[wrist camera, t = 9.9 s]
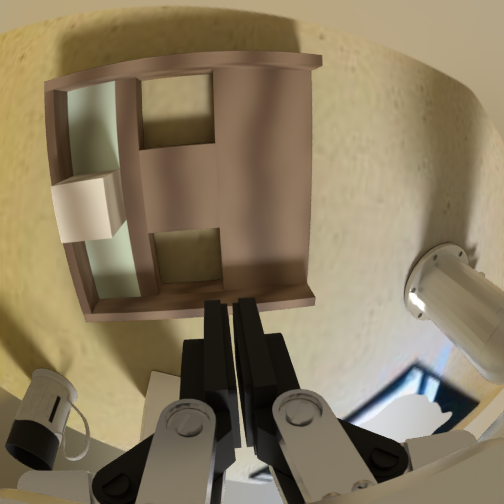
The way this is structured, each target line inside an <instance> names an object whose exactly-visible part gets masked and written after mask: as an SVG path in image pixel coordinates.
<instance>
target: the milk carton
mask: <svg viewBox="0 0 504 504" xmlns="http://www.w3.org/2000/svg"><path fill="white" fill-rule="evenodd" d="M180 378H181V377H178V376H173V375H169V374H165V373H161V372H156V371H152V372H151V376H150V380H149V384H148V389H147V393H146V398H145V403H144V410H143V418H142V426H141V434H140V442H142V441H143V440H145V439H146V438H147V437H149V436H150V435H152V434H153V433H154V432H155V430H156V426H157V423H158V419H159V416H160V414H161V412H162V410H163V409H164V408H165V407H166V406H167V405H169V404H171V403H173V402H174V401H178V400H179V394H180Z"/></svg>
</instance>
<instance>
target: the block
mask: <svg viewBox="0 0 504 504" xmlns="http://www.w3.org/2000/svg"><path fill="white" fill-rule="evenodd" d="M51 192H52V199H53V204H54V210H55V215H56V220H57V225H58V230H59V234H60V239H61V243H69V242H79V241H88V240H99V239H109V238H113V236H114V235H115V234H116V233H117V231H118V230H119V229H120V227H121V226H122V225H123V224H124V222H125V221H126V213H125V206H124V198H123V191H122V182H121V173H120V169H114V170H107V171H100V172H94V173H87V174H81V175H76V176H72V177H70V178H68V179H66V180H63V181H61V182H59V183H57V184H55V185H53V186H51Z"/></svg>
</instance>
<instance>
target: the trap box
mask: <svg viewBox="0 0 504 504" xmlns="http://www.w3.org/2000/svg"><path fill="white" fill-rule="evenodd" d="M321 66H322V55H316V54H306V53H294V52H277V51H213V52H196V53H184V54H174V55H165V56H157V57H150V58H143V59H136V60H131V61H125V62H120V63H114V64H110V65H105V66H100V67H96V68H92V69H88V70H84V71H80V72H76V73H72V74H69V75H65V76H62V77H58V78H55V79H52V80H49V81H45V82H44V95H45V124H46V138H47V150H48V159H49V168H50V176H51V183H52V186H53V185H55V184H57V183H59V182H61V181H63V180H66V179H68V178H70V177H72V176H76V175H81V174H87V173H94V172H100V171H107V170H114V169H120V173H121V182H122V191H123V198H124V206H125V213H126V221H125V222H124V224H123V225H122V226H121V227H120V229H119V230H118V231H117V233H116V234H115V235H114V236H113V238H109V239H99V240H88V241H79V242H69V243H63V245H64V249H65V254H66V257H67V261H68V265H69V269H70V272H71V276H72V280H73V283H74V286H75V290H76V293H77V296H78V299H79V302H80V306H81V309H82V312H83V314H84V317H85V320H86V322H110V321H139V320H160V319H178V318H193V317H204V300H218V299H220V301H221V304H223V303H227V307H228V315H231V314H233V310H232V303H237V302H238V298H247V297H255V301H256V304H257V308H258V312H263V311H272V310H282V309H290V308H299V307H307V306H315V296H314V294H313V292H312V291H311V289H310V287H309V286H308V284H307V276H308V259H309V241H310V218H311V188H312V80H311V71H312V70H314V69H316V68H319V67H321ZM201 74H213V107H214V135H215V142H211V143H197V144H185V145H174V146H164V147H155V148H146V149H144V136H143V118H142V92H141V81H144V80H152V79H159V78H168V77H177V76H188V75H201ZM207 228H219V231H220V246H221V261H222V275H223V280H212V281H199V282H185V283H171V284H161V278H160V272H159V266H158V260H157V254H156V247H155V240H154V233H157V232H169V231H181V230H194V229H207Z"/></svg>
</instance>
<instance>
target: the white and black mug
mask: <svg viewBox="0 0 504 504" xmlns="http://www.w3.org/2000/svg"><path fill="white" fill-rule="evenodd" d="M77 398H78V395H77V391H76V389H75V388H74V386H73V385H72V384H71V383H70V382H69V381H68V380H67V379H66V378H64V377H63V376H62V375H60V374H58V373H56V372H54V371H52V370H49V369H43V368H40V369H36V370H34V371H33V373H32V381H31V383H30V385H29V387H28V389H27V392H26V394H25V396H24V398H23V400H22V403H21V405H20V407H19V409H18V412H17V414H16V416H15V419H14V421H13V424H12V427H11V432H10V434H9V437H8V439H7V442H6V445H5V447H6V449H7V451H8V452H9V453H10V454H11V455H12V456H13V457H14V458H15V459H17V460H18V461H19V462H21V463H23V464H24V465H26V466H28V467H30V468H32V469H35V470H37V471H52V469H53V465H54V462H55V457H56V453H57V450H58V447H59V446H60V449H61V452H62V454H63V456H65V457H66V458H67V459H69V460H79V459H81V458H82V457H84V455H85V454H86V453H87V450H88V448H89V441H90V431H89V426H88V423H87V420H86V418H85V417H84V416H83V414H82V413H81V412H80V411H79V410H78V409H77V408H76V407H75V406H74V403H75V402H76V400H77ZM72 407H73V408H74V409H75V410H76V411H77V412H78V413H79V414H80V416H81V417H82V419H83V421H84V424H85V428H86V440H85V446H84V448H83V450H82V452H81V453H80V454H78V455H77V456H73V457H69V456H67V455H66V454H65V451H64V446H65V441H66V438H65V436H64V435H63V433H64V430H65V427H66V423H67V420H68V417H69V414H70V411H71V408H72Z"/></svg>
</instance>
